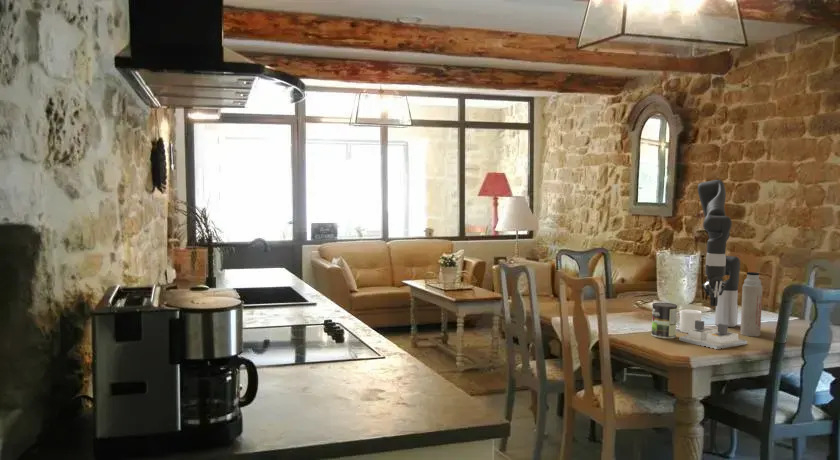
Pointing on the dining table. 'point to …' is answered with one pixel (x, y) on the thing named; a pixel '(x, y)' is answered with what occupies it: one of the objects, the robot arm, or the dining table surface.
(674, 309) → the coffee can
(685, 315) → the mug
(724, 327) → the breaker handle
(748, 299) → the thermos bottle
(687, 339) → the breaker panel
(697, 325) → the on breaker handle
